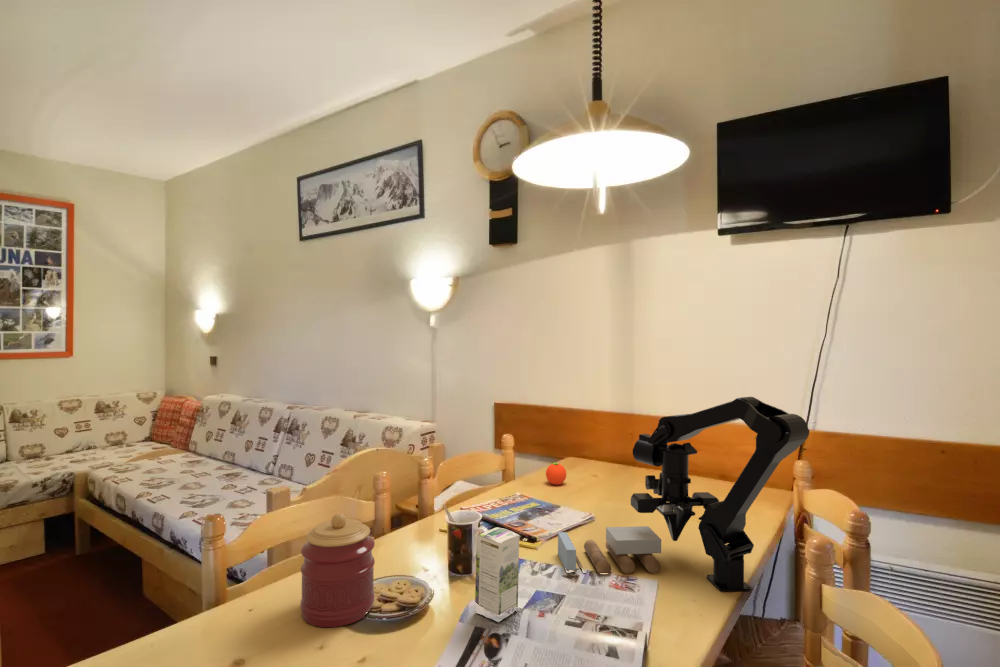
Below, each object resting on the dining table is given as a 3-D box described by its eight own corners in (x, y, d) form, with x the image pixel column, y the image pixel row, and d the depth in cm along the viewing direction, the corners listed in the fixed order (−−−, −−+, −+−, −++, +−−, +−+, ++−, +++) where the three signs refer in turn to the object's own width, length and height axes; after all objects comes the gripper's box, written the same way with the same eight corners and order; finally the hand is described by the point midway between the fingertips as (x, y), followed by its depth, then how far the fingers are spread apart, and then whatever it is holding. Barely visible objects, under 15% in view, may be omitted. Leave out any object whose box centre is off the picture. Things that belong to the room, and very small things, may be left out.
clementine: (541, 481, 185) (541, 460, 185) (560, 480, 187) (560, 459, 187) (550, 488, 178) (550, 466, 178) (569, 486, 180) (570, 465, 180)
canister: (380, 592, 106) (381, 502, 106) (366, 629, 93) (366, 526, 93) (313, 593, 106) (313, 502, 105) (289, 629, 93) (290, 526, 92)
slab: (661, 553, 118) (661, 539, 118) (616, 554, 117) (616, 540, 117) (648, 539, 125) (648, 526, 125) (605, 540, 125) (606, 527, 125)
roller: (602, 578, 114) (613, 570, 115) (594, 567, 114) (605, 558, 114) (588, 555, 126) (599, 547, 127) (581, 544, 126) (591, 537, 126)
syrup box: (494, 601, 103) (495, 525, 103) (519, 612, 99) (519, 532, 99) (474, 613, 98) (474, 534, 98) (499, 625, 95) (500, 542, 94)
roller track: (660, 572, 115) (660, 558, 115) (583, 575, 114) (583, 560, 114) (640, 550, 127) (641, 537, 127) (571, 551, 126) (571, 539, 126)
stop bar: (575, 573, 115) (576, 549, 115) (566, 573, 115) (566, 549, 115) (566, 553, 125) (566, 532, 125) (557, 554, 125) (558, 532, 125)
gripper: (699, 462, 131) (698, 526, 131) (623, 462, 129) (623, 528, 129) (721, 474, 119) (721, 544, 120) (639, 475, 118) (638, 546, 118)
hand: (674, 540), depth 122 cm, fingers closed
